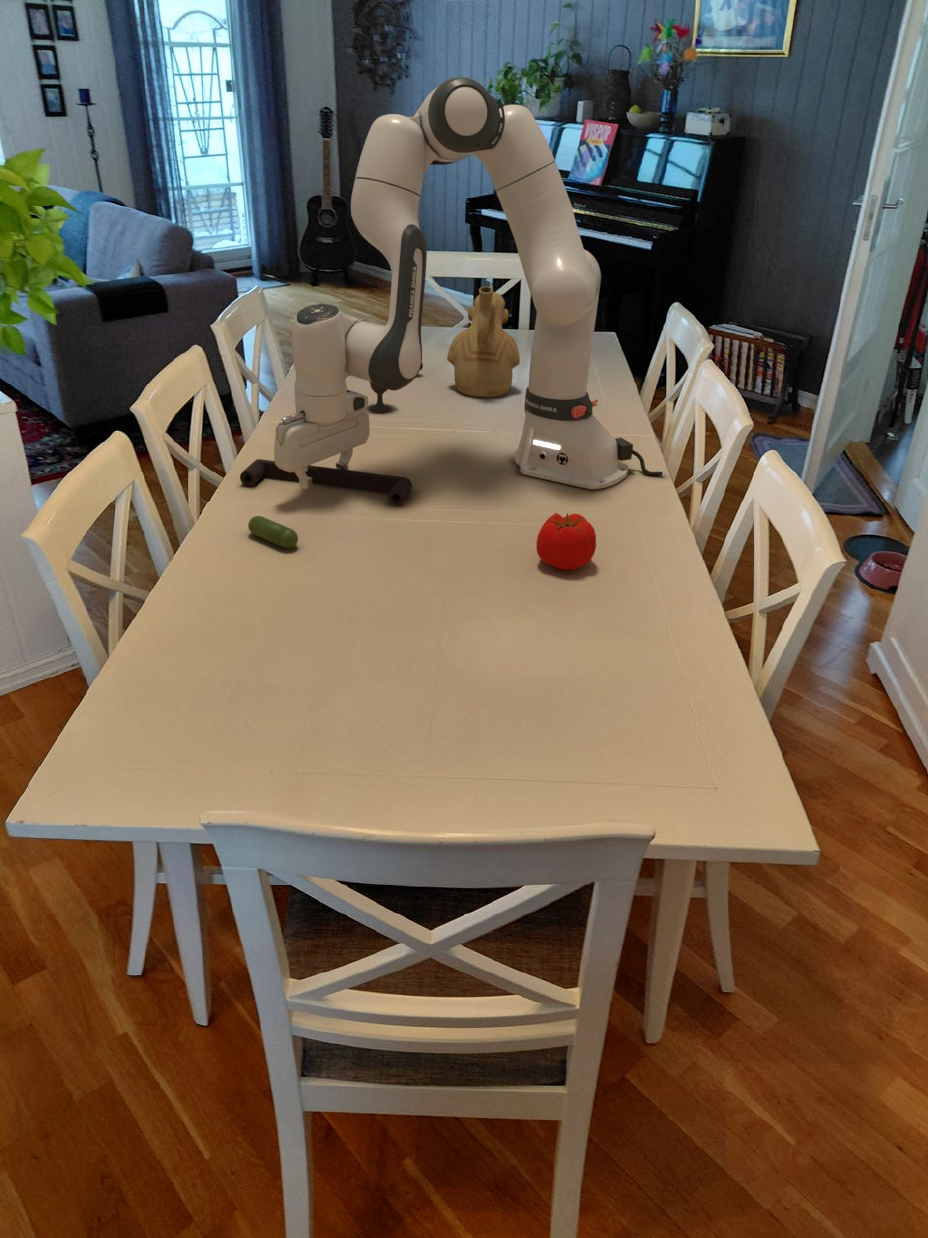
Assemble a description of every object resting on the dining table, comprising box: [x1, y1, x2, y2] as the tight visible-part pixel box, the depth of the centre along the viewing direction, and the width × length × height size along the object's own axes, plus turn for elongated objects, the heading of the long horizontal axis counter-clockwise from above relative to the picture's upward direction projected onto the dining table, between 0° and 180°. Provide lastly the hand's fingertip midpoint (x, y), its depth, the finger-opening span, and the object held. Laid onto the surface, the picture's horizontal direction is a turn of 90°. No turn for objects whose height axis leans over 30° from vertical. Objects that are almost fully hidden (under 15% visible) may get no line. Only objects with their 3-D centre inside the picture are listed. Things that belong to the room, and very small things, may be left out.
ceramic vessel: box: [446, 286, 521, 398], centre depth 215 cm, size 17×20×25 cm
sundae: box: [368, 381, 392, 414], centre depth 203 cm, size 7×7×15 cm
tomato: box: [535, 512, 597, 571], centre depth 145 cm, size 9×9×8 cm
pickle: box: [247, 515, 299, 550], centre depth 149 cm, size 10×3×3 cm, turn 52°
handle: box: [239, 458, 413, 506], centre depth 167 cm, size 30×6×3 cm, turn 78°
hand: (324, 479), depth 167 cm, fingers closed on handle, 8 cm apart
